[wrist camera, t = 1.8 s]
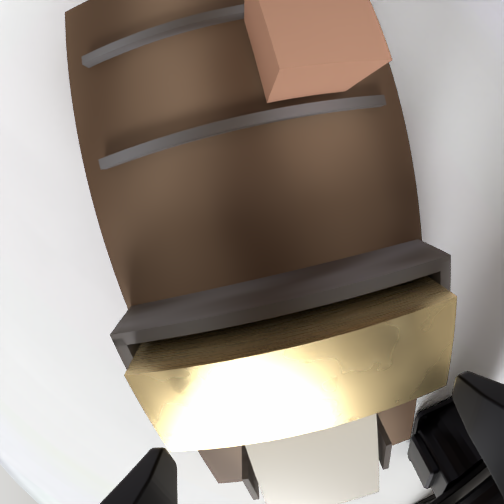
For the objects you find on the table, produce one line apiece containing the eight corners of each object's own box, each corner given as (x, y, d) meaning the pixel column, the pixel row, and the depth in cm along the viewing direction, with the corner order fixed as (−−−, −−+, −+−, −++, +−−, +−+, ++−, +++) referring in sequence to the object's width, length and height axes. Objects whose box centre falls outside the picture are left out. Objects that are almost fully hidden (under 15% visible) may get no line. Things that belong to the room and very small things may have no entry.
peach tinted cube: (319, 11, 9) (349, -42, 5) (345, 91, 10) (392, 59, 6) (244, 20, 9) (245, -38, 5) (266, 103, 10) (279, 69, 6)
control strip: (331, -31, 10) (360, -88, 5) (399, 419, 18) (427, 471, 12) (82, 26, 11) (30, -14, 6) (219, 461, 18) (216, 521, 13)
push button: (421, 271, 11) (456, 296, 8) (419, 353, 12) (446, 385, 9) (144, 336, 11) (124, 375, 9) (179, 410, 12) (170, 451, 10)
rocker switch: (368, 400, 13) (376, 412, 12) (373, 479, 13) (379, 491, 12) (245, 430, 13) (244, 444, 12) (270, 503, 13) (271, 517, 12)
